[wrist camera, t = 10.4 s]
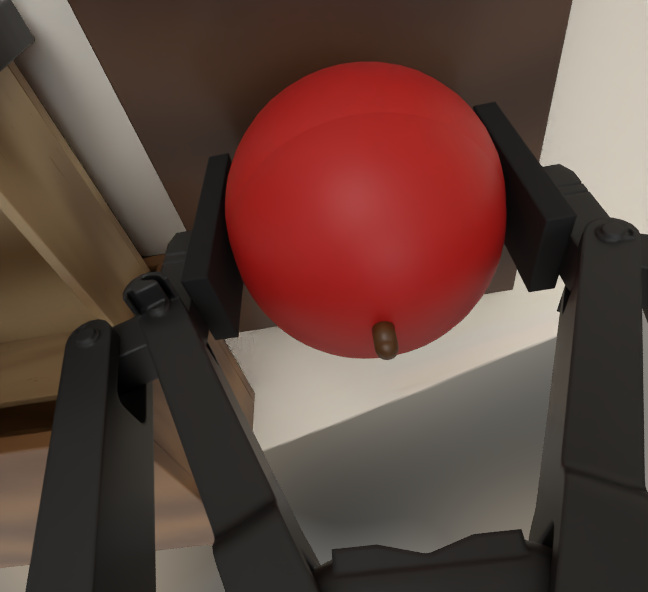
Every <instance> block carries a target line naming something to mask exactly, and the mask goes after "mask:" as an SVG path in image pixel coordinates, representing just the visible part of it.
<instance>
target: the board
mask: <svg viewBox="0 0 648 592" xmlns="http://www.w3.org/2000/svg"><path fill="white" fill-rule="evenodd" d="M68 2H69V4H70V6H71V8H72V10H73V12H74V14H75V16H76V18H77V20H78V22H79V24H80V25H81V27H82V29H83V31H84V33H85V35H86V37H87V39H88V41H89V43H90V45H91V47H92V49H93V51H94V52H95V54H96V56H97V58H98V60H99V62H100V64H101V66H102V68H103V70H104V72H105V74H106V76H107V78H108V79H109V81H110V83H111V85H112V87H113V89H114V91H115V93H116V95H117V97H118V99H119V101H120V103H121V105H122V106H123V108H124V110H125V112H126V114H127V116H128V118H129V120H130V122H131V124H132V126H133V128H134V130H135V132H136V133H137V135H138V137H139V139H140V141H141V143H142V145H143V147H144V149H145V151H146V153H147V155H148V157H149V158H150V160H151V162H152V164H153V166H154V168H155V170H156V172H157V174H158V176H159V178H160V180H161V182H162V184H163V185H164V187H165V189H166V191H167V193H168V195H169V197H170V199H171V201H172V203H173V205H174V207H175V209H176V211H177V212H178V214H179V216H180V218H181V220H182V222H183V224H184V226H185V228H186V230H187V231H191V230H192V229H193V225H194V221H195V216H196V212H197V207H198V203H199V199H200V194H201V190H202V186H203V181H204V177H205V173H206V168H207V164H208V159H209V157H211V156H216V155H221V154H226V153H229V155H230V158H231V161H233V158H234V155H235V152H236V149H237V147H238V145H239V143H240V141H241V139H242V137H243V135H244V134H245V132H246V130H247V129H248V127H249V126H250V124H251V123H252V122H253V120H254V119H255V117H256V116H257V114H258V113H259V112H260V111H261V110H262V109H263V108H264V107H265V106H266V105H267V104H268V102H269V101H270V100H271V99H273V98H274V97H275V96H276V95H278V94H279V93H280V92H281V91H283V90H284V89H285V88H286V87H288V86H290V85H291V84H293V83H295V82H296V81H298V80H300V79H301V78H303V77H305V76H307V75H309V74H311V73H314V72H316V71H318V70H321V69H324V68H327V67H331V66H335V65H338V64H344V63H351V62H384V63H390V64H397V65H402V66H405V67H408V68H412V69H415V70H418V71H420V72H422V73H424V74H426V75H428V76H431V77H433V78H435V79H436V80H438V81H439V82H441V83H442V84H444V85H445V86H447V87H448V88H450V89H451V90H452V91H454V92H455V93H457V94H458V95H459V96H460V97H461V98H462V99H463V100H464V101H465V102H466V103H467V104H468V105H469V106H470V107H471V109H472V110H473V106H475V105H480V104H486V103H491V102H496V103H497V105H498V106H499V107H500V109H501V110H502V112H503V113H504V114H505V116H506V117H507V119H508V120H509V121H510V123H511V124H512V126H513V127H514V128H515V130H516V131H517V132H518V134H519V135H520V137H521V138H522V139H523V141H524V142H525V144H526V145H527V146H528V148H529V149H530V151H531V152H532V153H533V155H534V156H535V158H536V159H537V160H538V162H539V160H540V155H541V150H542V145H543V140H544V135H545V131H546V126H547V121H548V116H549V111H550V106H551V102H552V97H553V92H554V87H555V82H556V77H557V72H558V68H559V63H560V58H561V53H562V48H563V43H564V39H565V34H566V29H567V24H568V19H569V14H570V9H571V5H572V0H68ZM516 271H517V268H516V266H515V264H514V262H513V260H512V258H511V256H510V254H509V252H508V250H507V248H506V246H505V244H504V245H503V249H502V253H501V257H500V261H499V264H498V267H497V269H496V271H495V274H494V276H493V278H492V280H491V282H490V284H489V286H488V288H487V289H486V291H485V293H484V294H488V293H494V292H501V291H507V290H512V289H513V286H514V281H515V276H516ZM276 326H277V325H276V324H275V323H274V322H273V321H272V320H271V319H270V318H269V317H268V316H267V315H266V314H265V313H264V312H263V311H262V310H261V309H260V307H259V306H258V305H257V303H256V302H255V301H254V299H253V297H252V296H251V294H250V293H249V291H248V289H247V288H246V286H245V284H244V282H243V292H242V303H241V314H240V324H239V332H244V331H250V330H257V329H263V328H270V327H276Z"/></svg>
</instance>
